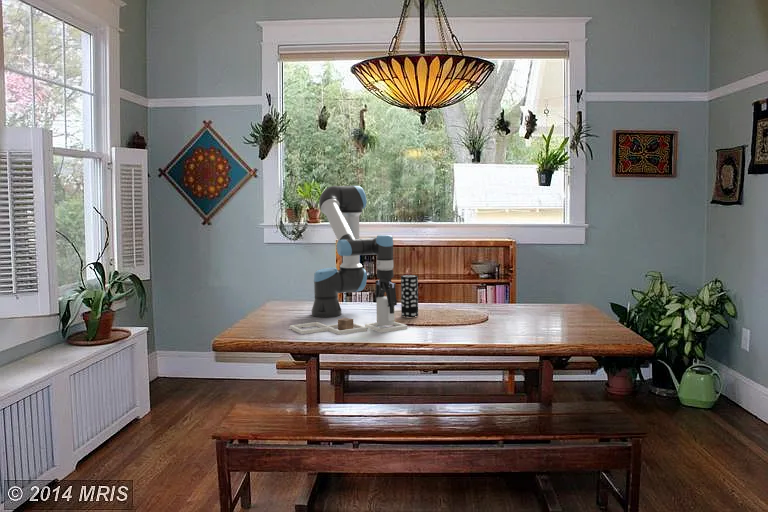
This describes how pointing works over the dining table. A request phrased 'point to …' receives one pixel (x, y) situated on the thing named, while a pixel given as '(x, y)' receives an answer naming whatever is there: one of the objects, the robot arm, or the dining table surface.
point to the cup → (383, 312)
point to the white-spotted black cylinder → (409, 295)
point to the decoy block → (345, 324)
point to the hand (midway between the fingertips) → (385, 318)
